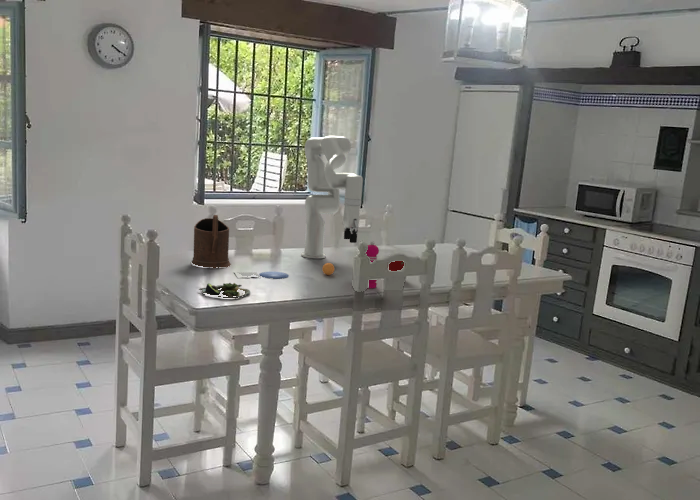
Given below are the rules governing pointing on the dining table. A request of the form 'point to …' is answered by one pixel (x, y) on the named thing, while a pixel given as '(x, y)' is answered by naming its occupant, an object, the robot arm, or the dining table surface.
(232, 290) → the salad plate
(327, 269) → the ball
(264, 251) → the dining table surface
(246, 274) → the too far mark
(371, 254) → the pepper mill
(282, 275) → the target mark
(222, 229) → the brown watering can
